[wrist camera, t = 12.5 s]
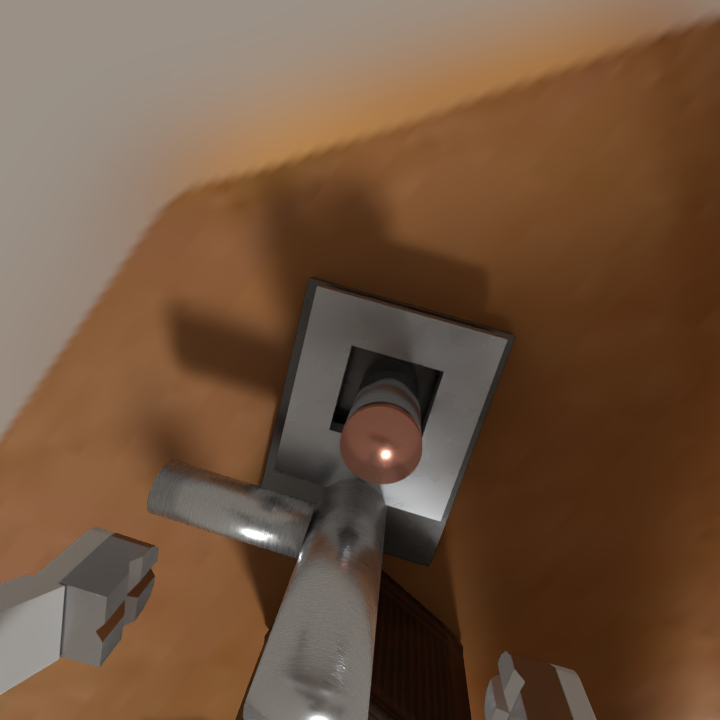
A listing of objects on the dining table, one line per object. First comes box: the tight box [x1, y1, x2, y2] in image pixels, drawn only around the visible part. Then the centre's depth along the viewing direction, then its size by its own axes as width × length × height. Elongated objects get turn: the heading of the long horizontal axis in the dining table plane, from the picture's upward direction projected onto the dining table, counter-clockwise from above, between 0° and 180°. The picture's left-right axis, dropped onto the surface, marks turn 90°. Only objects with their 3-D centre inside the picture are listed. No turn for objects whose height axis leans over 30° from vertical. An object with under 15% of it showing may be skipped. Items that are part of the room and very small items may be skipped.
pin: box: [340, 360, 423, 484], centre depth 21 cm, size 3×3×8 cm
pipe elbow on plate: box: [147, 277, 515, 720], centre depth 20 cm, size 16×16×15 cm
